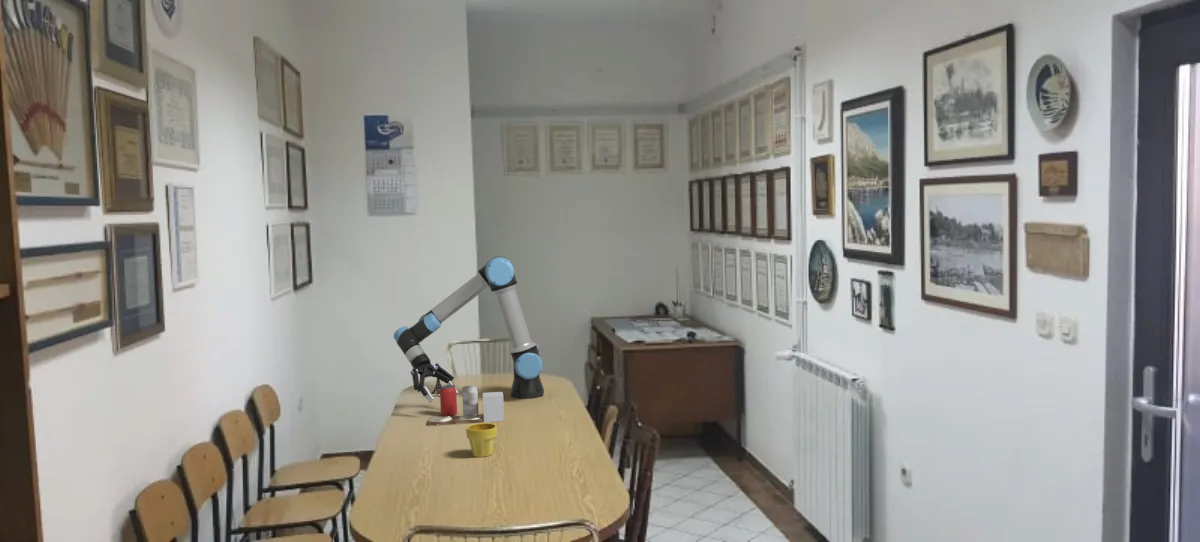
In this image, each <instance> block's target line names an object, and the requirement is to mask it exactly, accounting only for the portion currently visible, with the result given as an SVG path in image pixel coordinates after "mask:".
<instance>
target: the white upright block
mask: <svg viewBox="0 0 1200 542" xmlns="http://www.w3.org/2000/svg"><path fill="white" fill-rule="evenodd" d="M504 401H505V400H504V393H503V391H493V392H492V391H491V392H483V393H482V407H483V423H492V422H504V421H505V407H504V406H505V405H504Z"/></svg>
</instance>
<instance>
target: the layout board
mask: <svg viewBox="0 0 1200 542" xmlns="http://www.w3.org/2000/svg"><path fill="white" fill-rule="evenodd" d="M478 391H479V390H478V386H477V385H465V386H463V387H461V394H462V414H463V415H455V416H450V417H448V416H442V415H440V416H434V417H429V418H428V422H427V424H428V425H433V426H438V425H437V424H448V425H457V424H456V423H463V424H478V423H484V418H483V414H479V396H478V395H479V394H478Z"/></svg>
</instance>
